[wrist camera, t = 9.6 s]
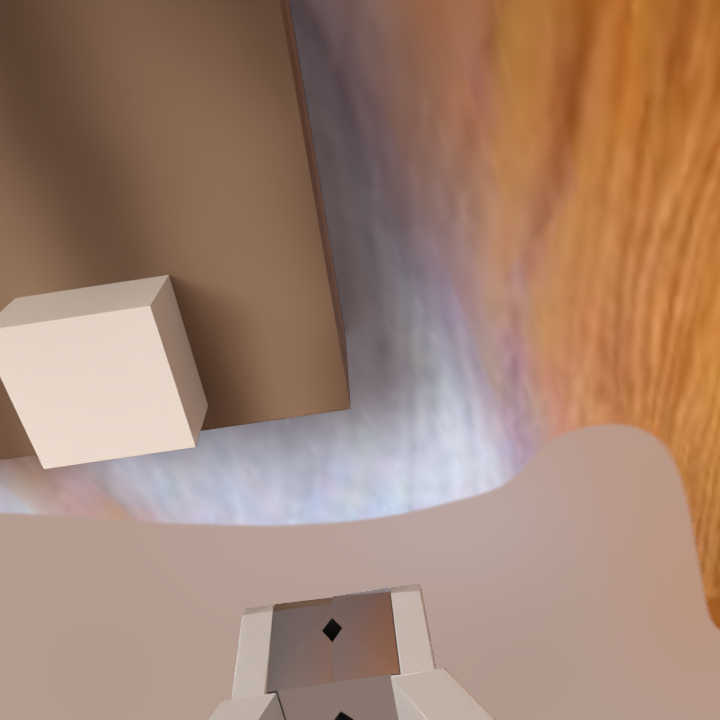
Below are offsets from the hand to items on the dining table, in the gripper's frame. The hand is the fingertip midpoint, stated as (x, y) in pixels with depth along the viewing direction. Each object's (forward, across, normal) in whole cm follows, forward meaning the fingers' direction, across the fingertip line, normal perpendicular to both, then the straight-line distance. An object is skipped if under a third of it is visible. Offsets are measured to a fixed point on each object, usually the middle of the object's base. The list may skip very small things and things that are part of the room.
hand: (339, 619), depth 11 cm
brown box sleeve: (+18, +6, -4) cm, 19 cm away
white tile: (+12, +7, 0) cm, 14 cm away
